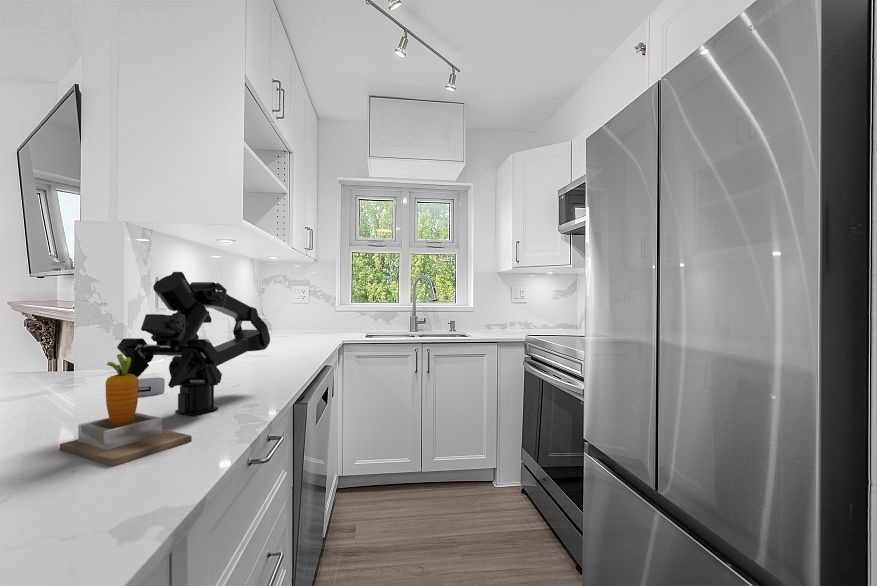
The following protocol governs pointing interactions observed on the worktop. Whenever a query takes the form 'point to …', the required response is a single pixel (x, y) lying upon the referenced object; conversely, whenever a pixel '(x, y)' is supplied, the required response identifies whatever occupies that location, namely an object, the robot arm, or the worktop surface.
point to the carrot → (121, 394)
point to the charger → (151, 384)
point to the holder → (123, 440)
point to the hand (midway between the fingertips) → (147, 386)
